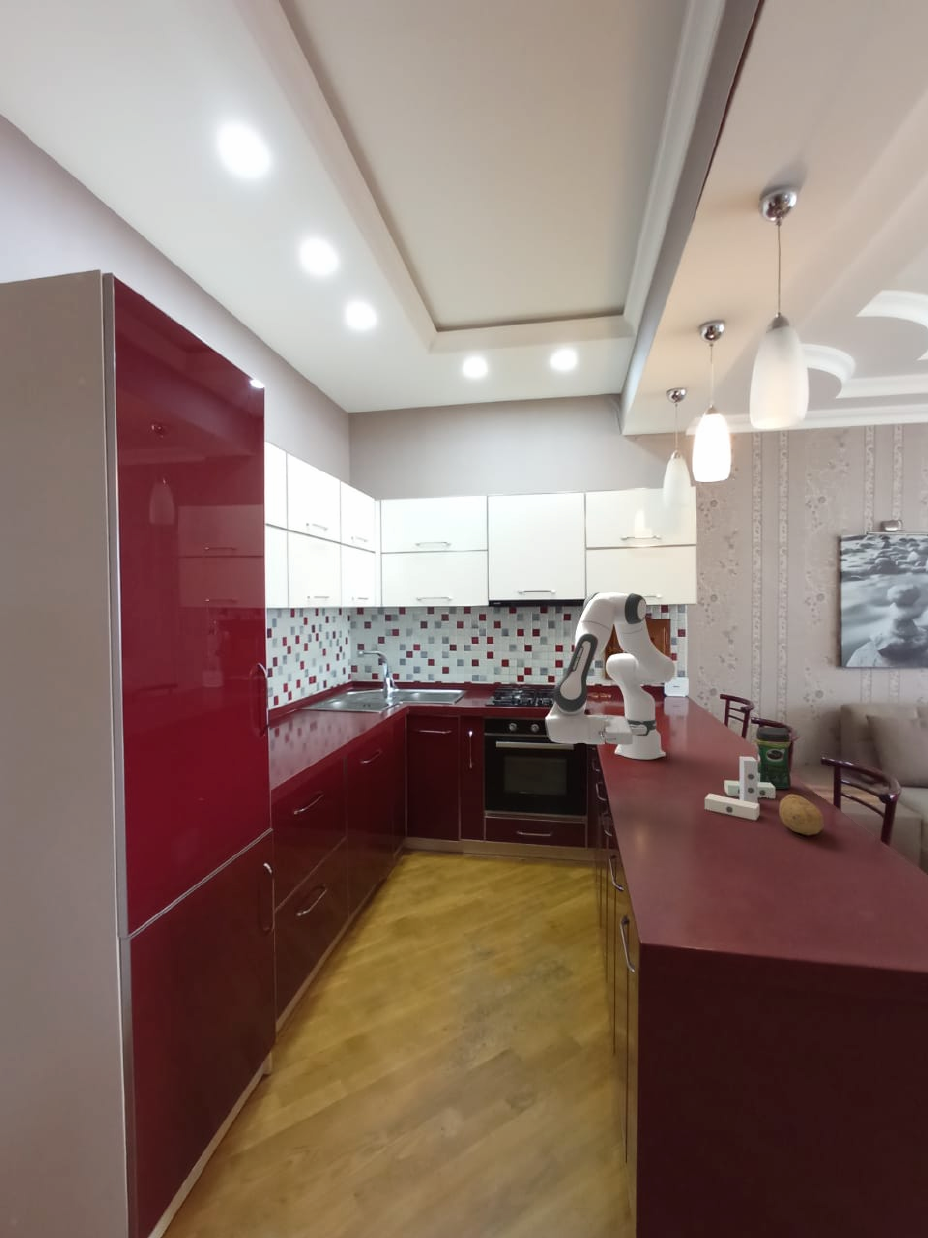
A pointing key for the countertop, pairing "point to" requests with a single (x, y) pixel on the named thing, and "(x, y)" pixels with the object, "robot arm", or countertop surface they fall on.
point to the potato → (800, 815)
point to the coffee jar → (773, 756)
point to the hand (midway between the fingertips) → (645, 730)
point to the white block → (762, 789)
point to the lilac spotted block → (748, 779)
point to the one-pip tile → (732, 806)
